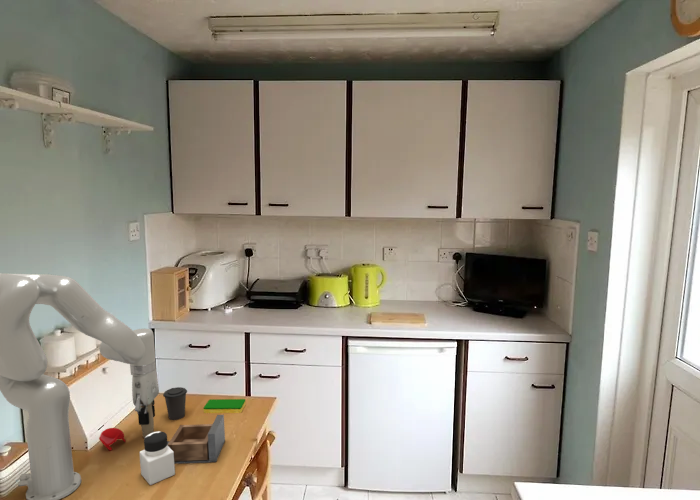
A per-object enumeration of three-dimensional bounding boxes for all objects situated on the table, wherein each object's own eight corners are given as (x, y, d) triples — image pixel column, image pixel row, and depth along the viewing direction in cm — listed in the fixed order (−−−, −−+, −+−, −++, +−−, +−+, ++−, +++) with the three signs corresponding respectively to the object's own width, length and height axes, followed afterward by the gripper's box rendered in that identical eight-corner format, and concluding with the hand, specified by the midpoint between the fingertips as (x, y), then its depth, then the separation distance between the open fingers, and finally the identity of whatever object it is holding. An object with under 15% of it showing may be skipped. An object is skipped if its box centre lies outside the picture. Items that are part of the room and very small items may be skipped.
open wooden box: (168, 461, 134) (167, 444, 134) (181, 440, 146) (180, 425, 145) (207, 459, 135) (206, 443, 134) (217, 439, 146) (216, 423, 146)
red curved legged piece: (101, 446, 139) (119, 431, 141) (93, 434, 142) (111, 419, 145) (114, 456, 144) (131, 441, 147) (107, 444, 148) (123, 430, 150)
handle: (141, 442, 146) (138, 398, 144) (139, 433, 152) (135, 391, 150) (157, 438, 149) (154, 395, 147) (154, 429, 154) (151, 387, 152)
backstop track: (143, 464, 134) (141, 436, 133) (158, 443, 146) (156, 416, 144) (216, 462, 135) (214, 433, 134) (225, 441, 147) (223, 414, 145)
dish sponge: (241, 413, 165) (240, 407, 165) (203, 414, 165) (203, 407, 165) (245, 404, 172) (245, 398, 172) (209, 405, 173) (209, 399, 172)
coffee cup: (170, 410, 167) (168, 385, 166) (192, 411, 167) (190, 385, 166) (160, 422, 159) (158, 394, 158) (183, 422, 159) (181, 395, 158)
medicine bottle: (175, 474, 129) (173, 435, 128) (150, 486, 125) (147, 445, 123) (165, 464, 135) (163, 425, 133) (140, 474, 130) (137, 435, 128)
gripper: (144, 377, 139) (148, 433, 141) (164, 357, 155) (167, 408, 158) (119, 378, 139) (124, 434, 141) (142, 358, 155) (145, 409, 158)
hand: (147, 420), depth 149 cm, fingers closed on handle, 4 cm apart
